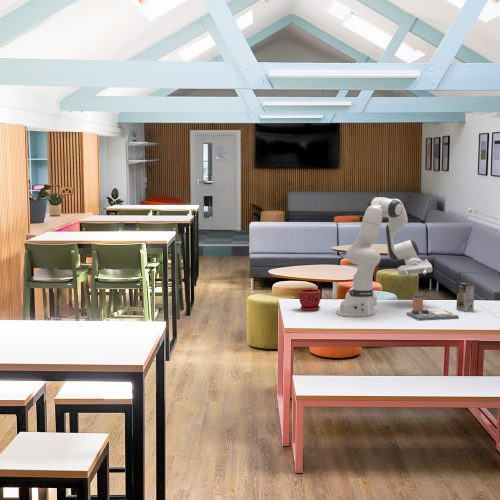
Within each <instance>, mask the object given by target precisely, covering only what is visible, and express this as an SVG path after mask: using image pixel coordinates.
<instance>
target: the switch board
mask: <svg viewBox="0 0 500 500" xmlns="http://www.w3.org/2000/svg"><path fill="white" fill-rule="evenodd" d="M406 316H408V317H410V318H413V319H414V320H416V321H419V322H420V321H435V320H437V321H438V320H456V319H460V317H459V315H458V314H457V313H456V314H455V313H452V312H450V311H448V310H430V311H429V310H428V309H423V310H422V312H419V311H417V310H413V309H412V310H411V311H407V312H406Z"/></svg>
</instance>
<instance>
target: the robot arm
mask: <svg viewBox="0 0 500 500" xmlns="http://www.w3.org/2000/svg"><path fill="white" fill-rule="evenodd" d="M383 217H384V218H388V223H387V224H386V226H385V235H386V236H385V237H386V244H387V245H386V246H387V252H386V253H387V257H388V258H389V260H390V261H392V262H397V261H400V260H402V259H404V263H405V265H400V266H398V267H396V270H397V271H398V275H399V276H407V277H410V276H411V275H417V274H423V275H427V274H428V273H432V272H433V266H432V263H431V262H430V261H429V259H425V258H424V259H423V258H422V259H421V258H419V256H420V250H419V247H418V245H417V243H416V242H415V240H414V239H408V240H405V241H402V242H399V243H396V244H395V241H394V236H395V235H396V234H398V233H399V232H400V231H401V230H403V229H404V228H405V227H406V226H407V225H408V221H409V219H408V213H407V211H406V209H405V206H404V204H403V202H402V201H401V200H400V199H398V198H388V197H385V196H383V197H382V196H371V197H370V198H369V199H368V200H367V202H366V210H365V212H364V215H363V217H362V220H361V224H360V225H361V226H360V228H359V232H358V234H357V237H356V238H355V240H354V242H353V243H352V245H351V246H350V247H349V248H347V250H346V253H345V258H346V260H347V261H348V262H350V263H351V264H353V265H357V269H356V272H355V273H354V275H353V277H352V287H353V289H352V290H349V289H350V288H348V289H347V290H346V291H347V292H348V293H350V296H349V297H348V298H346V299H345V298H344V300H343V301H341V302H340V304H339V305H340V306H339V310H336V311H335V313H336V315H337V316H341V317H369V316H371V315H375V314H376V313H375V308H374V305H373V291H374V290H373V277H374V272H375V269H376V267H377V266H378V265H379V264H380V262H381V254H380V252H379V251H378V250H376V249H374V248H372V247H371V246H372V245H373V244H374V243H375V242H376V241H377V240H378V238H379V234H380V230H381V227H382V221H383Z"/></svg>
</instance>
